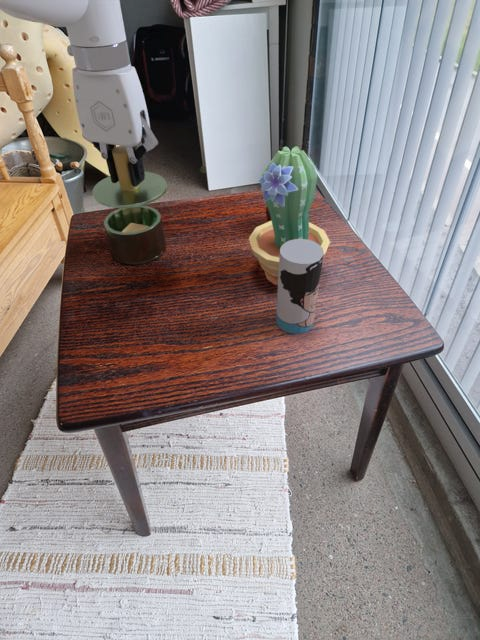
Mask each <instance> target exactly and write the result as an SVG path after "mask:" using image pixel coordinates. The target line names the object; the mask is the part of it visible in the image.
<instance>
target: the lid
mask: <svg viewBox="0 0 480 640" xmlns="http://www.w3.org/2000/svg"><path fill="white" fill-rule="evenodd" d="M112 154H113V158H114V163H115V167H116V171H117V176H118V180H119V181H118V182H117V183H112V181H111V177H110V175H109V176H107V177H105V178H103V179H101V180H100V181H98V182H97V183H96V184H95V185H94V187H93V189H92V196H93V199H94V201H96V202H97V204H100V205H102V206H104V207H109V208H115V209H119V208H131V207H137V206H142V205H143V206H146V205H147V204H151V203H153V202H155V201H157V200H159V199H160V198H161V197H163V196H164V195H165V194H166V192H167V189H168V183H167V181H166V179H165V178H164V177H163V176H162V175H160V174H158V173H154V172H150V171H144V173H145V179H144V180H143V181H142V182H141V183H140V184H139V185H138V186H137V187H135V186H132V184H131V179H130V174H129V170H128V163H129V162H130V160H129V156H128V153H127V150H126V147H125V146H119V145H117V146H116V147H115V148H113V149H112Z"/></svg>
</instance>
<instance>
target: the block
mask: <svg viewBox="0 0 480 640" xmlns="http://www.w3.org/2000/svg"><path fill="white" fill-rule="evenodd" d="M148 227H149V226H146V225H141V224H135V223H130V224H129V225H128V226H127V227H126V228H125V229H124V230H123V231H122V232H124V233H126V232H137V231H141V230H144V229H146V228H148Z"/></svg>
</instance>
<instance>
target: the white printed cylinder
mask: <svg viewBox="0 0 480 640" xmlns="http://www.w3.org/2000/svg"><path fill="white" fill-rule="evenodd" d="M323 255H324V251H323V248H322V247H321V246H320V245H319V244H317V243H316V242H314V241H311V240H306V239H294V240H290V241H288V242H285V243H284V244H283V245H282V246H281V248H280V259H279V276H278V285H277V294H276V295H277V296H276V299H277V300H276V310H275V312H276V314H275V322H276V325H277V327H278V328H279V329H281V330H282V331H283V332H285V333H287V334H292V335H298V334H299V335H300V334H304V333H307V332H308V331H310V330H311V329H312V328H313V327H314V323H315V316H316V311H317V310H316V309H317V303H318V296H319V288H320V282H321V281H320V280H321V275H322V268H323V261H324V258H323Z"/></svg>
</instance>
